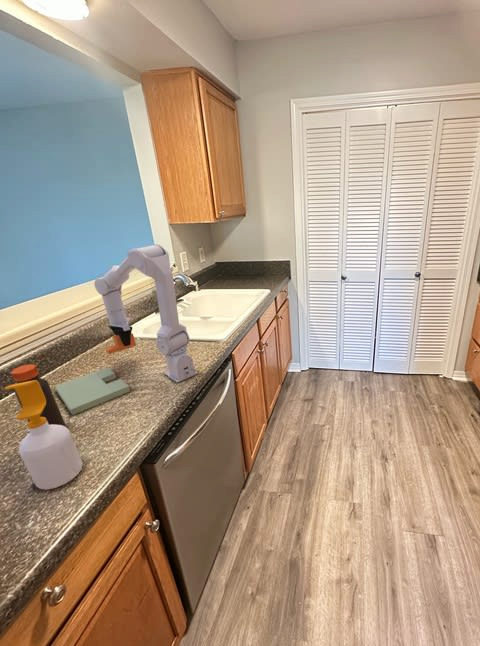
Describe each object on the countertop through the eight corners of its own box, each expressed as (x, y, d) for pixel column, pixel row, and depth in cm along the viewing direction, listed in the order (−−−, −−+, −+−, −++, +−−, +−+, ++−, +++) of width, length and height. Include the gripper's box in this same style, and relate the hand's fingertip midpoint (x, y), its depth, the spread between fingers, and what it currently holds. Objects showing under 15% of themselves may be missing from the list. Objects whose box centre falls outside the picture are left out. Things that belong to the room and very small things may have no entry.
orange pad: (136, 345, 123) (133, 333, 121) (109, 354, 117) (105, 342, 115) (132, 343, 126) (129, 331, 124) (106, 351, 120) (102, 339, 118)
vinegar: (49, 425, 91) (21, 362, 83) (72, 424, 91) (47, 361, 83) (30, 442, 85) (-2, 376, 77) (55, 441, 84) (25, 375, 76)
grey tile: (130, 391, 105) (128, 385, 105) (72, 415, 95) (70, 409, 94) (109, 371, 118) (108, 367, 118) (56, 391, 108) (54, 385, 107)
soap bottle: (30, 496, 69) (-21, 399, 59) (42, 467, 76) (-1, 377, 67) (79, 481, 72) (38, 387, 62) (86, 454, 79) (50, 367, 70)
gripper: (134, 310, 114) (143, 345, 120) (119, 303, 124) (129, 335, 129) (113, 316, 110) (123, 351, 115) (99, 308, 119) (110, 341, 125)
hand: (125, 343), depth 122 cm, fingers closed on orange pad, 4 cm apart
